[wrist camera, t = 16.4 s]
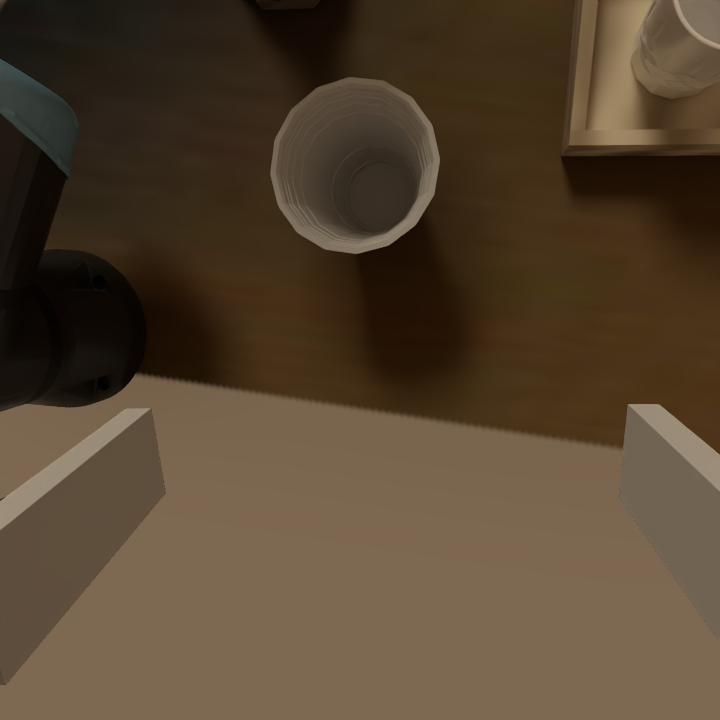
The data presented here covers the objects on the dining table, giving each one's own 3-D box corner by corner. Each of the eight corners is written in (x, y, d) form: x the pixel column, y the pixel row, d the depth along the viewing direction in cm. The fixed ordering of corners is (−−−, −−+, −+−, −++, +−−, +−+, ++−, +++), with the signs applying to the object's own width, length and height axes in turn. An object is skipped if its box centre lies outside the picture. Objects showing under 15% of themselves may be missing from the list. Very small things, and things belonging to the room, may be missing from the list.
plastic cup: (475, 186, 43) (477, 153, 31) (386, 286, 46) (357, 289, 34) (378, 98, 43) (344, 32, 32) (295, 201, 46) (237, 176, 35)
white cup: (728, 111, 38) (817, 55, 28) (611, 104, 39) (658, 48, 30) (755, -10, 36) (859, -113, 27) (634, -13, 38) (690, -112, 28)
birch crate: (560, 156, 41) (569, 145, 38) (579, -43, 39) (589, -73, 36) (761, 155, 39) (790, 143, 35) (794, -59, 36) (828, -93, 33)
